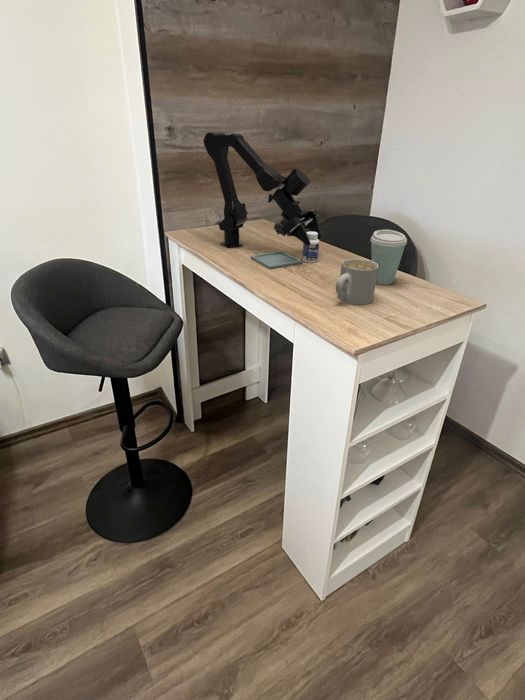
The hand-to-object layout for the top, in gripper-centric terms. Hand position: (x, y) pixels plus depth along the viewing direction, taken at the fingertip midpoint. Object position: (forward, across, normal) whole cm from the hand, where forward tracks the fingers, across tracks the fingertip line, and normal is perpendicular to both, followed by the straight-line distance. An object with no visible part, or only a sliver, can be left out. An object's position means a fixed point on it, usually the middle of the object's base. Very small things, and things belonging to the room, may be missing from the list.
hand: (315, 241), depth 145 cm
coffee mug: (+21, +25, +11) cm, 34 cm away
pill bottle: (+4, 0, -6) cm, 7 cm away
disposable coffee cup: (+24, +6, +13) cm, 28 cm away
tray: (-3, +7, -13) cm, 15 cm away
